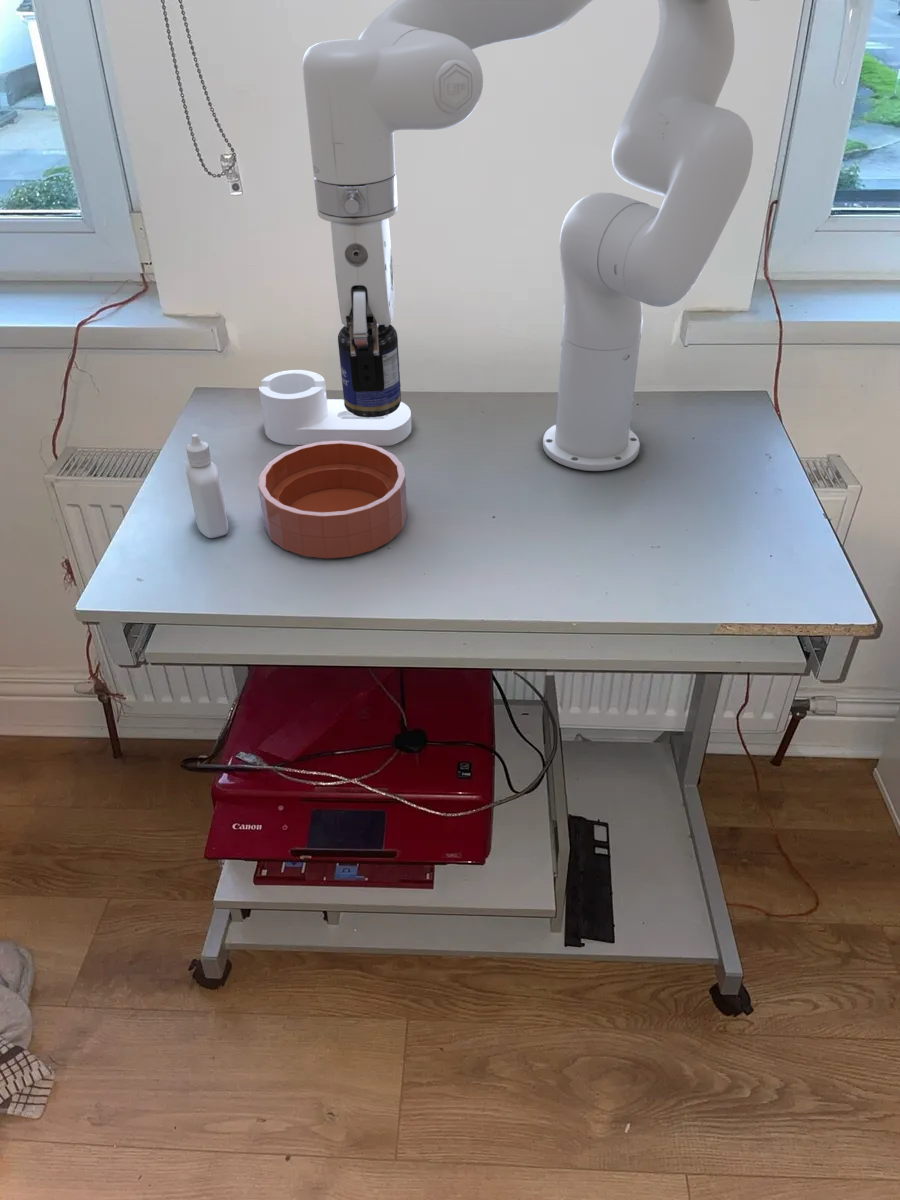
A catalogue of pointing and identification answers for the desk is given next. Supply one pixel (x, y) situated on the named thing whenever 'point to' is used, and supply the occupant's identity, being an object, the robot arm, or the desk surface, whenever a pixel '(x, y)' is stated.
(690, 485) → the desk surface
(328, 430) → the bracket
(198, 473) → the eye dropper bottle
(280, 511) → the bowl
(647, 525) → the desk surface
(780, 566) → the desk surface
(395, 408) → the pill bottle
